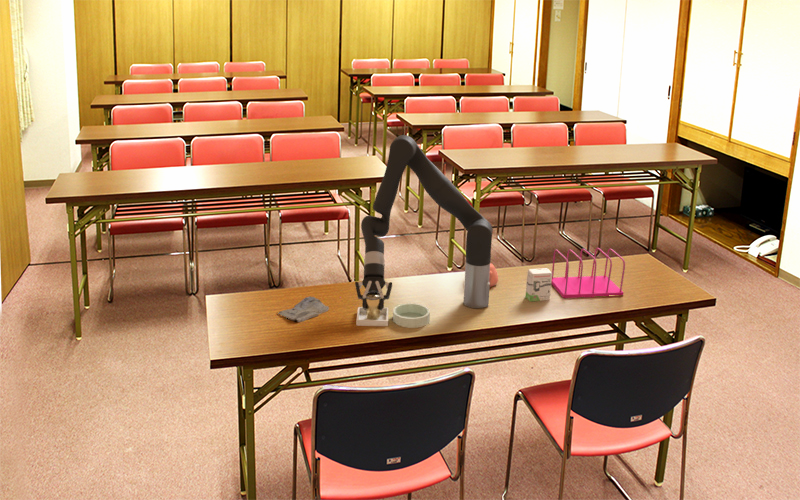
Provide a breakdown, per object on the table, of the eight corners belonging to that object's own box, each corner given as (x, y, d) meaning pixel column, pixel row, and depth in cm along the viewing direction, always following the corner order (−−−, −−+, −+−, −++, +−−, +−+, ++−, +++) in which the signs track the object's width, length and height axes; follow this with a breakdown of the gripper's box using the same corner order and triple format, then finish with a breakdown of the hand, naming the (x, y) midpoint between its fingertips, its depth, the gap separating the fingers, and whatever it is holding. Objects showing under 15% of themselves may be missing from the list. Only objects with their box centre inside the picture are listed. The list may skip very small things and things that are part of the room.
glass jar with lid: (380, 313, 261) (380, 292, 258) (380, 319, 256) (380, 298, 253) (366, 313, 261) (366, 292, 258) (365, 319, 256) (365, 297, 253)
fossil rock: (296, 325, 255) (295, 319, 254) (272, 312, 265) (271, 306, 264) (334, 311, 266) (334, 305, 266) (309, 299, 277) (309, 293, 276)
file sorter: (548, 281, 297) (552, 246, 291) (605, 279, 300) (610, 244, 295) (563, 298, 281) (567, 261, 275) (623, 296, 284) (628, 259, 279)
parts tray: (388, 313, 264) (388, 307, 263) (387, 327, 254) (387, 320, 253) (358, 313, 264) (358, 307, 263) (356, 326, 254) (356, 320, 253)
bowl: (428, 313, 265) (429, 303, 264) (430, 329, 253) (430, 319, 252) (393, 312, 265) (393, 302, 264) (392, 328, 253) (393, 318, 251)
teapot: (476, 291, 285) (477, 269, 282) (461, 275, 302) (462, 254, 298) (504, 289, 288) (506, 267, 285) (487, 272, 305) (489, 252, 301)
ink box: (529, 301, 277) (532, 273, 273) (524, 296, 281) (527, 269, 277) (550, 300, 279) (553, 272, 275) (545, 295, 283) (547, 267, 279)
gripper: (354, 261, 259) (352, 305, 252) (393, 262, 259) (393, 306, 252) (355, 269, 266) (353, 313, 259) (393, 270, 266) (393, 313, 259)
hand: (373, 309), depth 256 cm, fingers closed on glass jar with lid, 5 cm apart
